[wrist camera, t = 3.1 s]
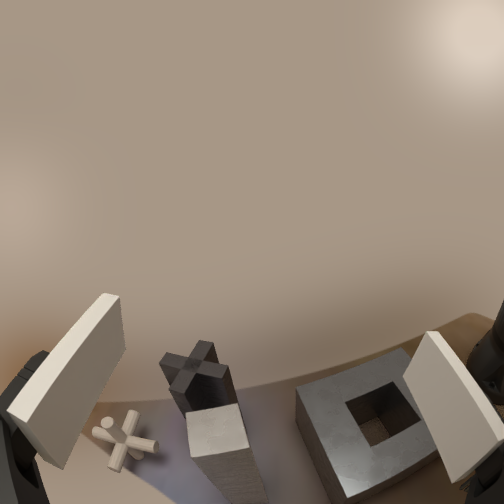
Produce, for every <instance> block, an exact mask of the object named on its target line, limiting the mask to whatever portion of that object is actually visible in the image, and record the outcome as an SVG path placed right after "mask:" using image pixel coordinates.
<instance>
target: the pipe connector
mask: <svg viewBox="0 0 504 504" xmlns="http://www.w3.org/2000/svg"><path fill="white" fill-rule="evenodd" d="M139 419H140V414H139V413H138V412H136V411H134V410H129V412H128V414H127V417H126V419H125V422H124V424H123V427H122V429H121V428H120V427H119V426H118V425H117V424H116V422H115V421H114V420H113V419H112V418H111V417H105V418H103V419H102V421H101V425H102V427H103V428H104V429H103V428H100V427H97V426H96V427H94V428H93V430H92V435H93V436H94V437H95V438H98V439H101V440H105V441H108V442H111V443H115V447H114V450H113V452H112V455H111V458H110V460H109V463H108V466H107V467H108V468H109V469H111V470H113V471H115V472H118V473H120V472H121V469H122V466H123V463H124V460H125V457H126V454H127V452H128V453H129V454H130V455H131V456H132V457H134V458H135V459H136V460H141V459H143V458H144V452H143V451H146V452H151V453H158V451H159V443H158V442H157V441H153V440H148V439H144V438H139V437H134V436H133V435H134V432H135V429H136V427H137V424H138V421H139Z"/></svg>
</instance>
